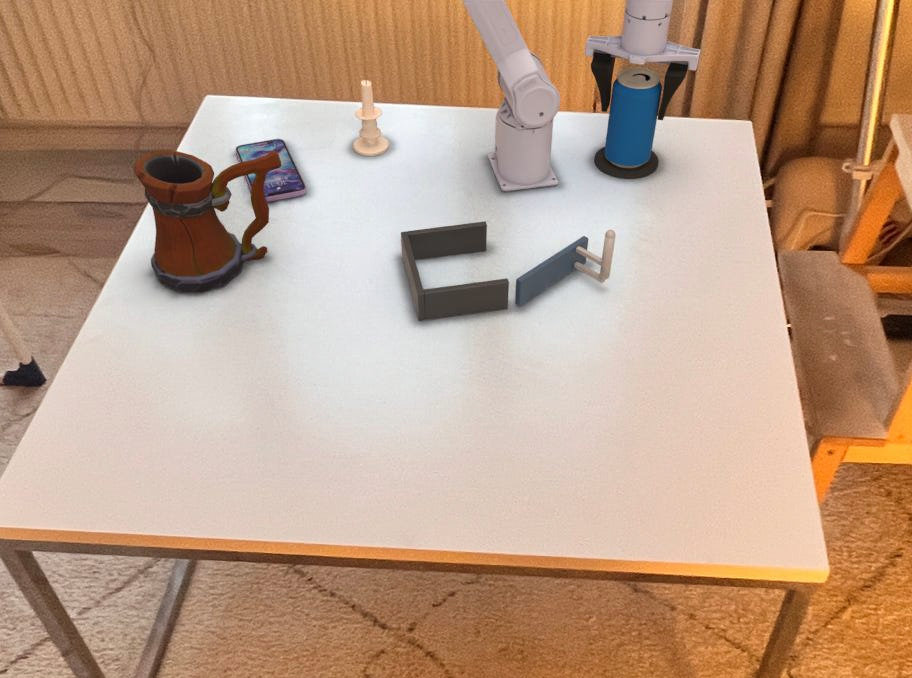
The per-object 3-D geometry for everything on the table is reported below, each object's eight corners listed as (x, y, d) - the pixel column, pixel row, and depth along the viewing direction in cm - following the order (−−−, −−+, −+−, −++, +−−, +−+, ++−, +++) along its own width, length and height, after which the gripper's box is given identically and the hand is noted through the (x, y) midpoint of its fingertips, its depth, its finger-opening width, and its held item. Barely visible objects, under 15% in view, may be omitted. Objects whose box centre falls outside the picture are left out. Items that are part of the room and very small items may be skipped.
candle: (395, 143, 137) (391, 75, 129) (376, 159, 134) (370, 91, 126) (366, 134, 139) (360, 66, 131) (346, 150, 136) (339, 82, 128)
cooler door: (618, 280, 113) (626, 225, 107) (551, 326, 108) (556, 270, 102) (581, 260, 116) (587, 205, 110) (514, 303, 111) (517, 248, 105)
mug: (291, 228, 123) (274, 122, 112) (300, 280, 115) (283, 173, 104) (153, 247, 121) (122, 141, 110) (154, 301, 113) (120, 194, 102)
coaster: (586, 149, 134) (586, 146, 134) (645, 142, 135) (646, 139, 135) (605, 182, 128) (605, 180, 128) (667, 174, 129) (667, 172, 129)
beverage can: (658, 157, 132) (672, 75, 123) (633, 176, 128) (646, 93, 119) (620, 142, 135) (631, 61, 126) (594, 160, 131) (604, 79, 122)
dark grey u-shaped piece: (485, 247, 119) (485, 220, 116) (507, 309, 110) (509, 282, 108) (402, 258, 118) (400, 231, 115) (418, 321, 109) (417, 294, 106)
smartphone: (283, 137, 137) (308, 189, 127) (283, 143, 137) (308, 195, 128) (233, 145, 135) (255, 199, 126) (234, 151, 136) (256, 205, 126)
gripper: (583, 16, 115) (574, 118, 125) (701, 31, 112) (681, 134, 122) (596, -6, 120) (586, 94, 130) (710, 7, 116) (690, 109, 126)
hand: (633, 112), depth 126 cm, fingers open, 7 cm apart
